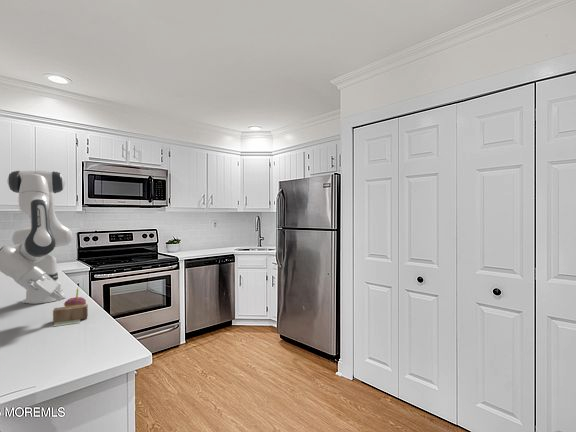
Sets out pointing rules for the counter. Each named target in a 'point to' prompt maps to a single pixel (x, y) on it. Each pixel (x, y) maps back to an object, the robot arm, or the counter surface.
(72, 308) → the block
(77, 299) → the cupcake
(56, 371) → the counter surface
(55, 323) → the mat
